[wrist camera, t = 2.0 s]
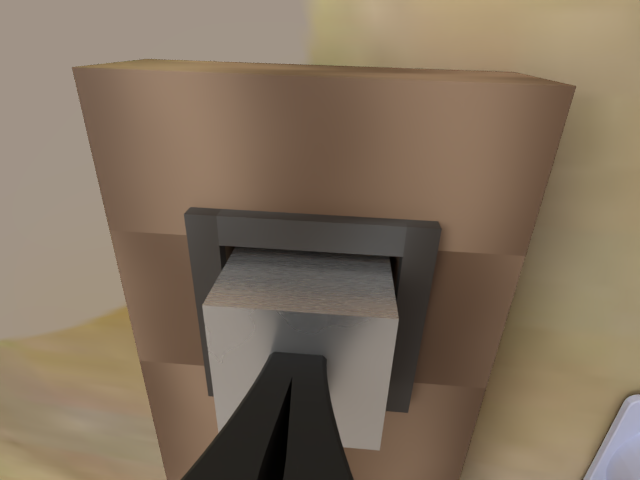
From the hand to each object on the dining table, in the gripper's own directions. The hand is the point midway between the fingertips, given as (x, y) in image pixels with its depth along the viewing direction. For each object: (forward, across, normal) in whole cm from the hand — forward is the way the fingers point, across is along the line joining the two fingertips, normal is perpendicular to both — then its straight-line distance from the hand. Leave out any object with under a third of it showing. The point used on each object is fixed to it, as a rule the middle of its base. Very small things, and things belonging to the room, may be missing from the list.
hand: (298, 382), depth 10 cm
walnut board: (+7, 0, +6) cm, 9 cm away
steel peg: (+4, 0, 0) cm, 4 cm away
